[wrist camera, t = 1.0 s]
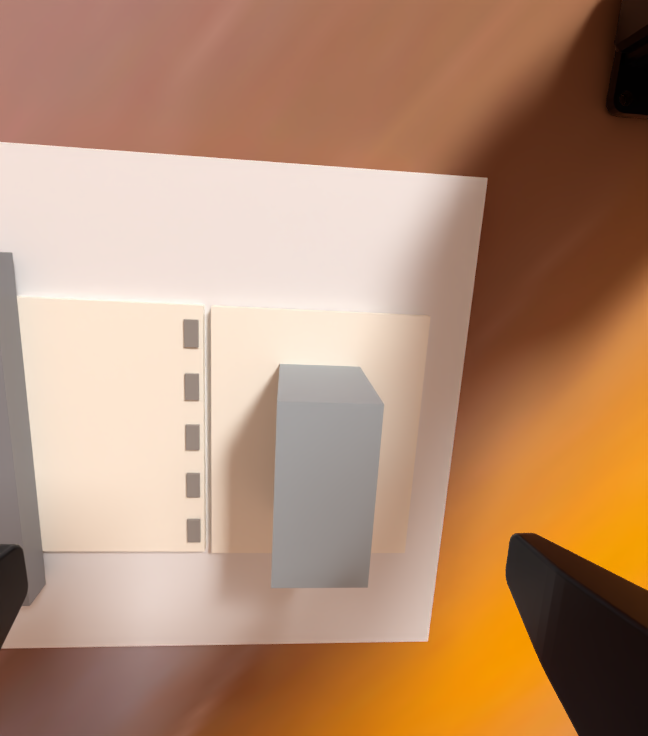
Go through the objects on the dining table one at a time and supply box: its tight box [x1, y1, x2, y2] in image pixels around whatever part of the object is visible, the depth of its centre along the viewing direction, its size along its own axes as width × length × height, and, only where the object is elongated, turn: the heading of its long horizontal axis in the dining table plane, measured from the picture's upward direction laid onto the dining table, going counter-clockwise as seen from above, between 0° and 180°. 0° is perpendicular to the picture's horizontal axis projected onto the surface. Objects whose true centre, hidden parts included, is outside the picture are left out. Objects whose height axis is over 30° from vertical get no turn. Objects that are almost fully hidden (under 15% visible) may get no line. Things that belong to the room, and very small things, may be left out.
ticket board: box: [0, 142, 488, 649], centre depth 18 cm, size 22×20×3 cm
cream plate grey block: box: [211, 305, 430, 588], centre depth 16 cm, size 8×10×5 cm
